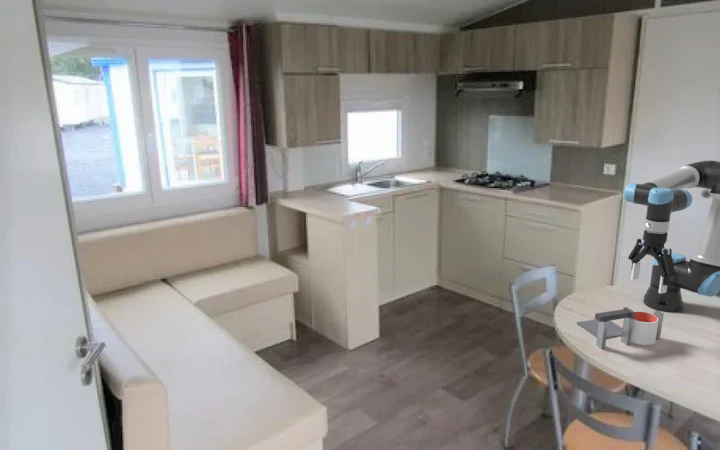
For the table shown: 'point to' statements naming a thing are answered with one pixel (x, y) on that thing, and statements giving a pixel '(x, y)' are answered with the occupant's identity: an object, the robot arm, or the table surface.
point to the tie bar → (615, 315)
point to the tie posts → (624, 330)
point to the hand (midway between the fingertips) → (648, 285)
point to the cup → (644, 328)
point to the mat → (592, 328)
